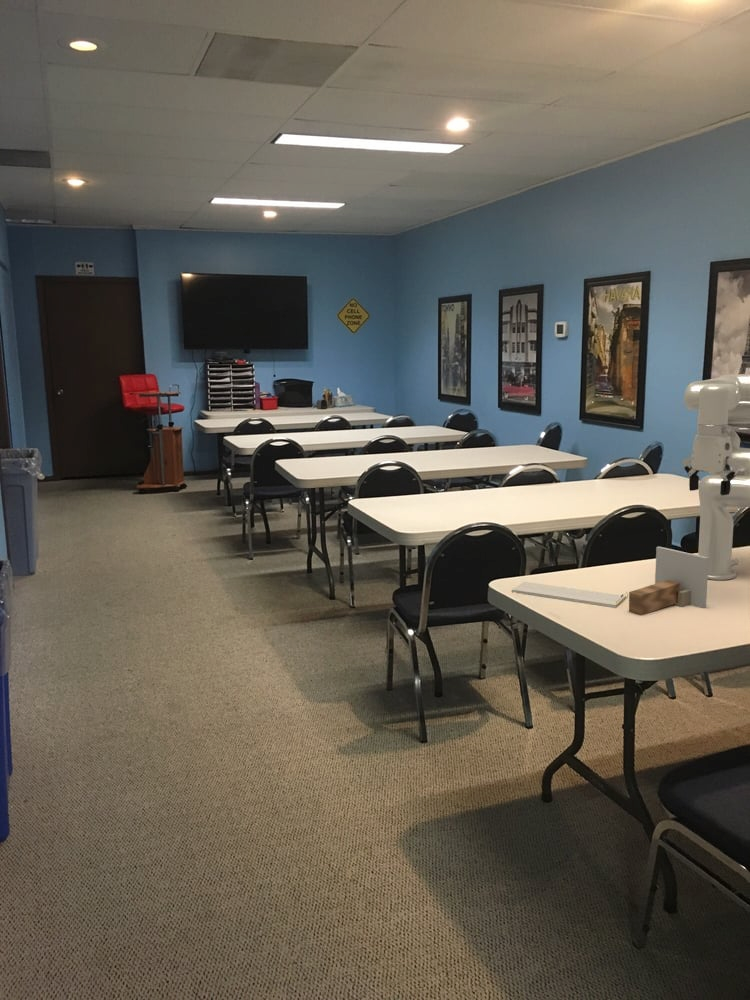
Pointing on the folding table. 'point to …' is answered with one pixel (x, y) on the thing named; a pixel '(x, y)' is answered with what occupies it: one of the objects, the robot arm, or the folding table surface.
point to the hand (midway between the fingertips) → (709, 492)
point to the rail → (653, 597)
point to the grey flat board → (570, 594)
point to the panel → (684, 574)
